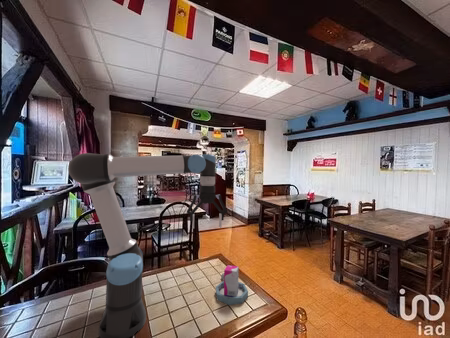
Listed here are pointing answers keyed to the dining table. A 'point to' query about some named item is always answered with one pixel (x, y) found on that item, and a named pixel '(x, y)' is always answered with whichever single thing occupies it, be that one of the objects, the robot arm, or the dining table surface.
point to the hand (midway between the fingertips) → (206, 227)
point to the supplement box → (231, 281)
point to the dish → (232, 300)
